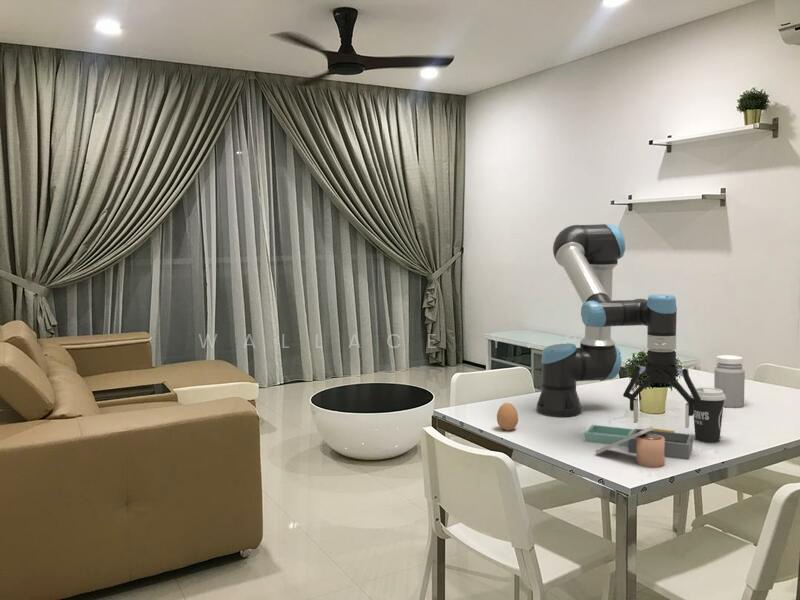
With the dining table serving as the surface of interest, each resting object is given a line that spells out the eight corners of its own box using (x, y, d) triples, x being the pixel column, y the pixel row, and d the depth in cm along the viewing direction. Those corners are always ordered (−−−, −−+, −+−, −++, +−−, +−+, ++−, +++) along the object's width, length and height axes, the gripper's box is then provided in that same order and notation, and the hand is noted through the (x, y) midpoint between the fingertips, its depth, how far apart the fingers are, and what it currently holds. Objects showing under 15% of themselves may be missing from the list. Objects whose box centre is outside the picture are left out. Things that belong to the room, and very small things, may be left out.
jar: (750, 408, 233) (751, 357, 232) (729, 411, 230) (730, 360, 229) (727, 402, 243) (728, 354, 241) (707, 405, 239) (708, 356, 238)
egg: (492, 430, 212) (492, 402, 211) (506, 426, 216) (506, 399, 216) (508, 434, 207) (508, 406, 206) (522, 430, 211) (522, 402, 211)
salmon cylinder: (634, 465, 176) (634, 438, 175) (638, 457, 182) (638, 432, 181) (662, 468, 172) (662, 441, 172) (666, 460, 179) (666, 435, 178)
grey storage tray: (628, 452, 187) (628, 436, 187) (635, 441, 197) (635, 426, 196) (688, 459, 180) (689, 442, 179) (692, 448, 189) (692, 432, 189)
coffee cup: (695, 433, 204) (695, 385, 202) (728, 438, 198) (729, 389, 196) (685, 441, 196) (686, 391, 195) (720, 446, 190) (721, 395, 189)
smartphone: (608, 448, 190) (606, 445, 190) (653, 429, 180) (652, 425, 180) (595, 454, 185) (594, 450, 185) (641, 434, 175) (640, 431, 175)
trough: (584, 441, 198) (584, 433, 198) (592, 432, 207) (592, 424, 207) (628, 446, 192) (628, 438, 192) (634, 437, 201) (634, 429, 201)
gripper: (612, 349, 189) (612, 423, 190) (709, 354, 177) (708, 432, 178) (617, 345, 195) (617, 417, 197) (711, 350, 183) (710, 425, 185)
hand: (661, 424), depth 187 cm, fingers open, 13 cm apart
